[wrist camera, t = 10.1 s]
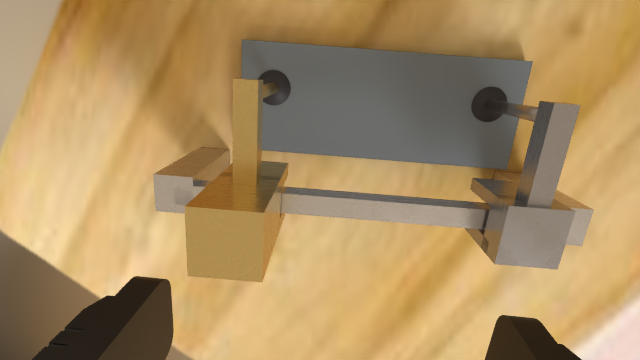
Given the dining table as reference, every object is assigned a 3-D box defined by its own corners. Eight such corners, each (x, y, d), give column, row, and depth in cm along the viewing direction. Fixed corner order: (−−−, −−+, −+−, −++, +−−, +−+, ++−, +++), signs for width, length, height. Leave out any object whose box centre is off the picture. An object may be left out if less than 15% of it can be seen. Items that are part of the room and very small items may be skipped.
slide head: (249, 75, 32) (178, 78, 17) (297, 78, 32) (267, 84, 17) (248, 190, 35) (187, 275, 21) (291, 194, 35) (262, 282, 21)
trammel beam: (197, 70, 34) (123, 70, 22) (544, 97, 33) (662, 111, 21) (201, 181, 37) (138, 234, 25) (516, 207, 36) (604, 273, 25)
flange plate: (244, 40, 33) (241, 39, 31) (525, 61, 32) (533, 61, 31) (244, 146, 36) (241, 148, 34) (501, 166, 35) (507, 169, 34)
